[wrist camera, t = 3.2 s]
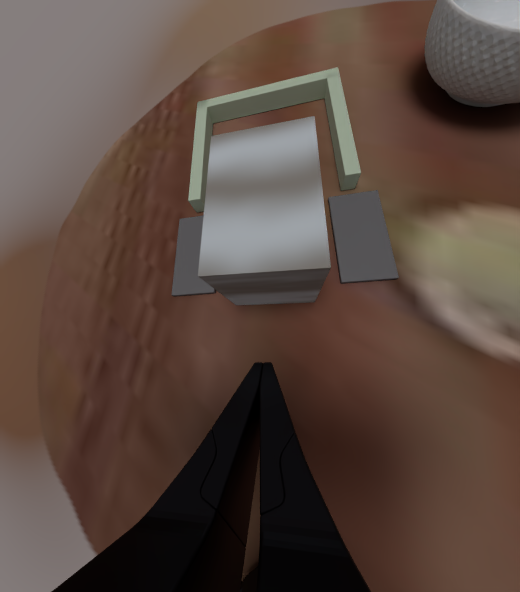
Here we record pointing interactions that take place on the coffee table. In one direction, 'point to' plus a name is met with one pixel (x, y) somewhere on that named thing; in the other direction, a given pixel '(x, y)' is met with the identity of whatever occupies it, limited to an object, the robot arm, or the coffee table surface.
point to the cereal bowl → (476, 50)
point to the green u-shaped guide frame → (343, 209)
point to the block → (265, 215)
